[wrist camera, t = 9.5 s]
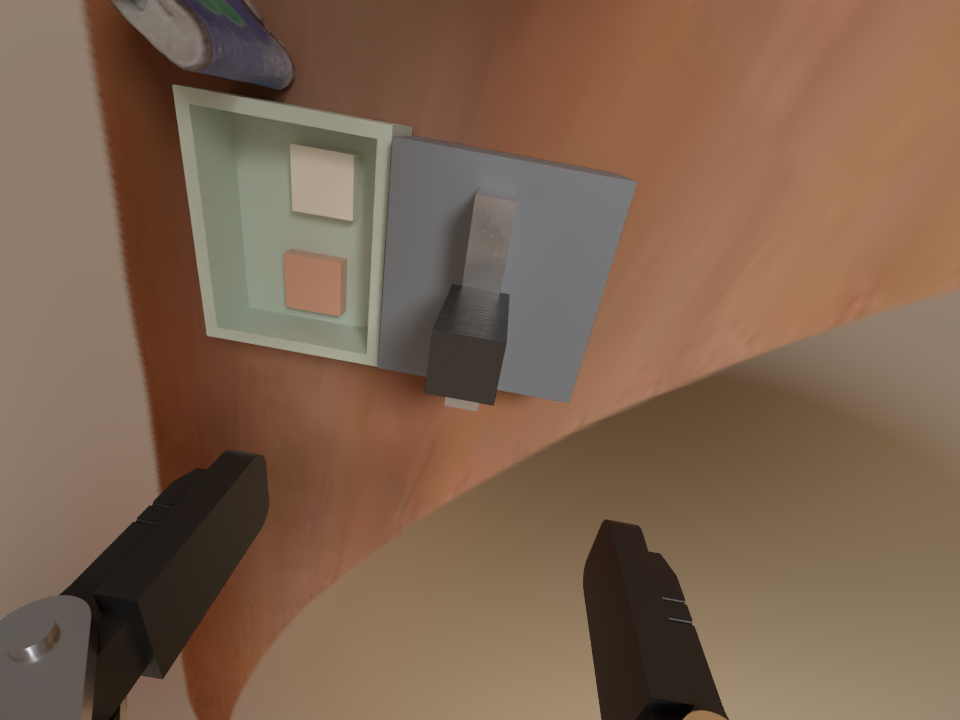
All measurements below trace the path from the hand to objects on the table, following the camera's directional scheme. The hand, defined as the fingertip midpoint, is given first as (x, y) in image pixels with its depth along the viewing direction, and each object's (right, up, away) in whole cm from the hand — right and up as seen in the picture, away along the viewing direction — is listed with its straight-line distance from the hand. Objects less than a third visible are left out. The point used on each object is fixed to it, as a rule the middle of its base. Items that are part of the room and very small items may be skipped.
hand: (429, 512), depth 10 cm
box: (-10, +13, +21) cm, 27 cm away
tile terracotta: (-11, +9, +21) cm, 25 cm away
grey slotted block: (+2, +11, +21) cm, 24 cm away
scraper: (+1, +8, +16) cm, 18 cm away
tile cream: (-9, +15, +18) cm, 25 cm away
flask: (-13, +24, +16) cm, 32 cm away
